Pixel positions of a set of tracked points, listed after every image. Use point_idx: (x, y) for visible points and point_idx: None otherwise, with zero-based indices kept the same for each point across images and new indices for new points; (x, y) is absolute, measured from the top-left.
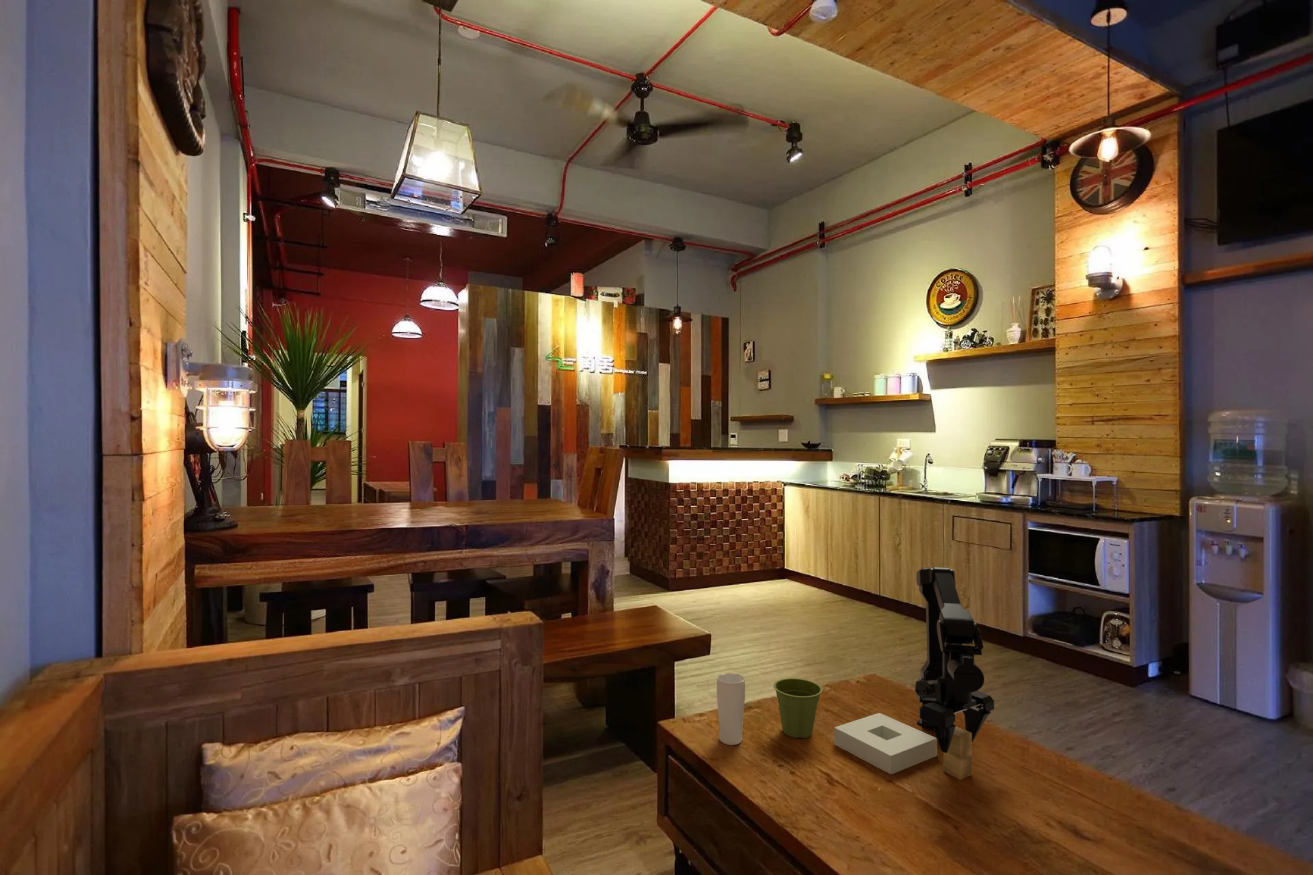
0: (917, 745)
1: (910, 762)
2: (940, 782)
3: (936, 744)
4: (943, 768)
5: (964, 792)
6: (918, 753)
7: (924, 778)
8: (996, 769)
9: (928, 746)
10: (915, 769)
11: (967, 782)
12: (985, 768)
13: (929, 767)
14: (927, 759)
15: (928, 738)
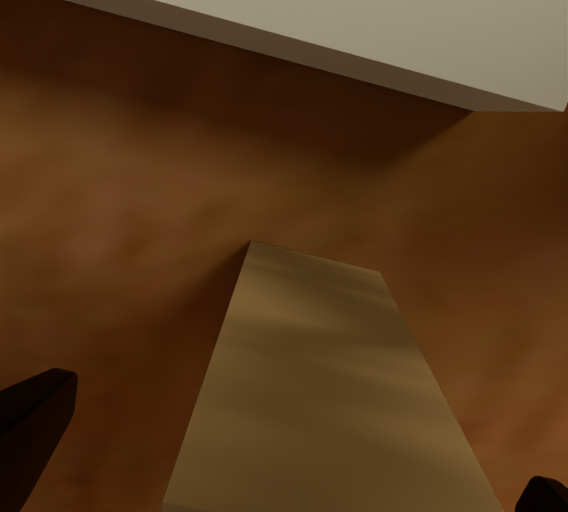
0: (179, 5)
1: (108, 9)
2: (86, 277)
3: (515, 110)
4: (249, 246)
5: (93, 409)
6: (215, 31)
7: (44, 179)
8: (513, 457)
9: (385, 72)
10: (114, 71)
11: None
12: (485, 413)
13: (231, 142)
14: (351, 77)
15: (490, 30)
